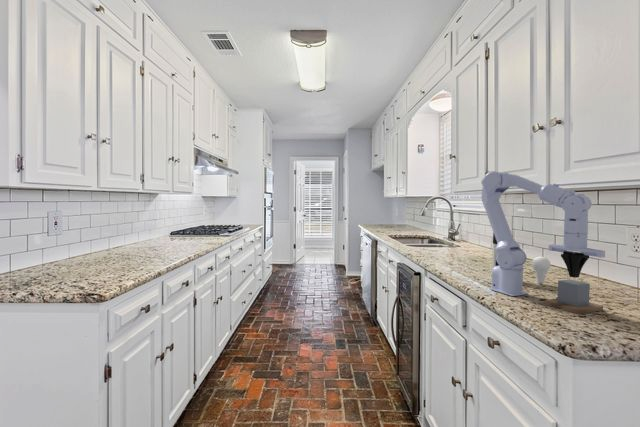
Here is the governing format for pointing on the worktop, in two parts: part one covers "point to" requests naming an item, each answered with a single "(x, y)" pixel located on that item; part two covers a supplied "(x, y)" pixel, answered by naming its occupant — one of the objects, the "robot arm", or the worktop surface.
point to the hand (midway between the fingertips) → (574, 276)
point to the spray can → (494, 253)
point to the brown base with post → (578, 310)
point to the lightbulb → (541, 268)
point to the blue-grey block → (573, 292)
